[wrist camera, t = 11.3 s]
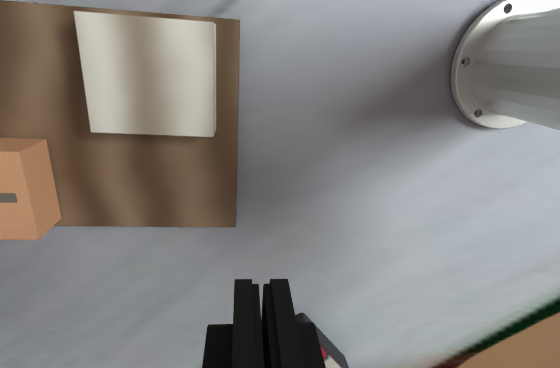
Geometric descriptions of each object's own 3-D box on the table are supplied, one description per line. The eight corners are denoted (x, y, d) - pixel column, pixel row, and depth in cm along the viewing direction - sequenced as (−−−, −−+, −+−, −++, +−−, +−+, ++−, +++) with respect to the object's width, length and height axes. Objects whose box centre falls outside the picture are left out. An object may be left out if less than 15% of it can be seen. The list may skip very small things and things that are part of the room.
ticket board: (239, 21, 30) (239, 17, 26) (235, 220, 37) (234, 242, 33) (-117, -8, 27) (-184, -18, 23) (-45, 217, 34) (-84, 241, 30)
